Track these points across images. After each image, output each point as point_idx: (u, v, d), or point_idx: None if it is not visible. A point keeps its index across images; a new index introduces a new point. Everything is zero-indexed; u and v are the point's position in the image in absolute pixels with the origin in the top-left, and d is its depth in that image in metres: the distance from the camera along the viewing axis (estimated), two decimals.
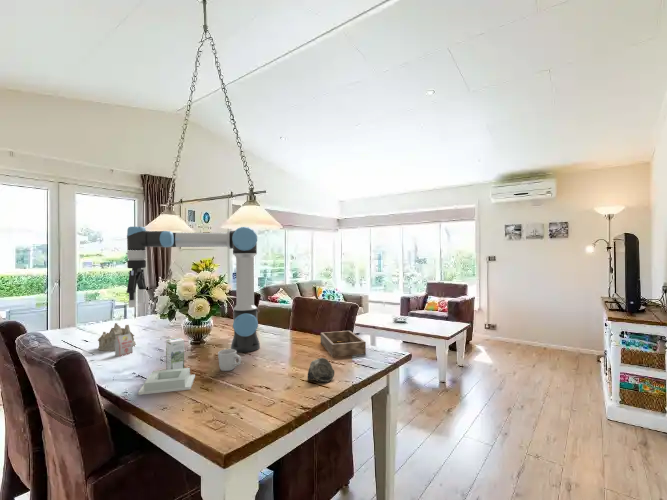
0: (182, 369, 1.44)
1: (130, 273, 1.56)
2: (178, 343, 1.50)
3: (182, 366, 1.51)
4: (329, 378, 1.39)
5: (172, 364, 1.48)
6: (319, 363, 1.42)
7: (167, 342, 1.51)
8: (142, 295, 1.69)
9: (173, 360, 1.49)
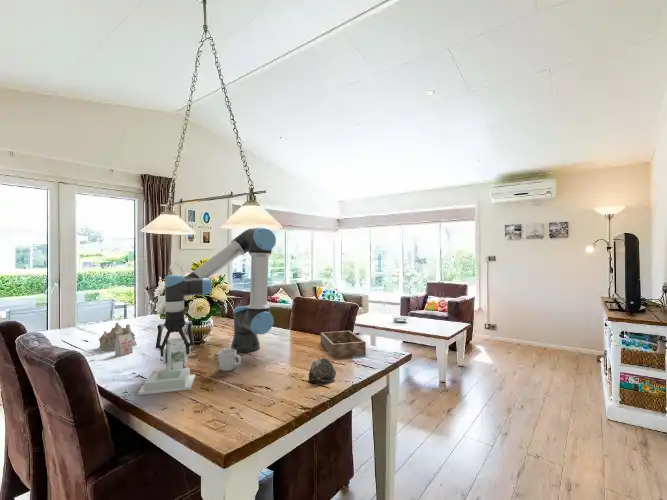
0: (182, 369, 1.44)
1: None
2: (178, 342, 1.50)
3: (182, 366, 1.51)
4: (330, 378, 1.39)
5: (172, 364, 1.48)
6: (320, 363, 1.42)
7: (167, 342, 1.51)
8: (184, 354, 1.52)
9: (173, 360, 1.49)
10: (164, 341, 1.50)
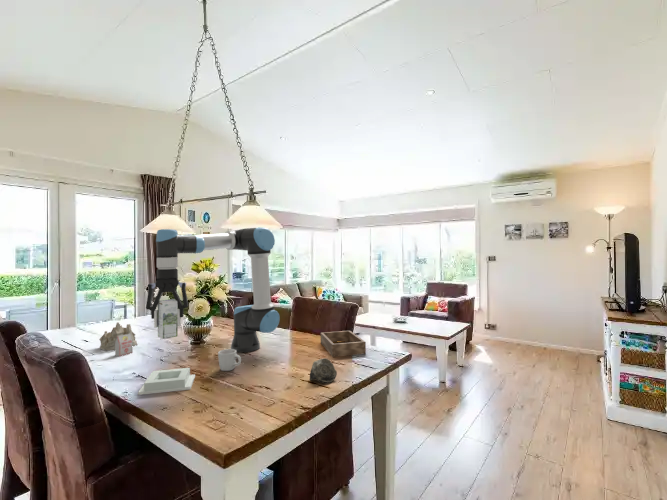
0: (182, 369, 1.44)
1: None
2: (170, 303, 1.36)
3: (175, 329, 1.37)
4: (331, 379, 1.39)
5: (164, 326, 1.34)
6: (321, 363, 1.41)
7: (159, 303, 1.36)
8: None
9: (165, 322, 1.34)
10: (155, 301, 1.35)
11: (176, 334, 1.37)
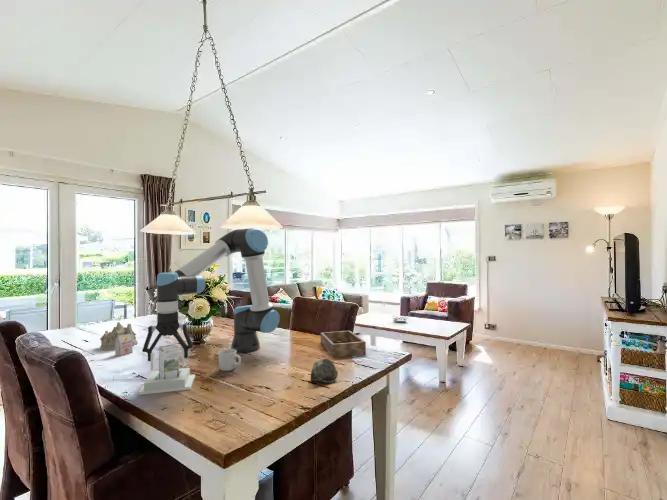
0: (182, 369, 1.44)
1: None
2: (171, 350, 1.35)
3: (176, 375, 1.37)
4: (332, 379, 1.38)
5: (165, 373, 1.34)
6: (322, 364, 1.41)
7: (160, 349, 1.36)
8: (182, 357, 1.38)
9: (166, 369, 1.34)
10: (153, 344, 1.35)
11: None
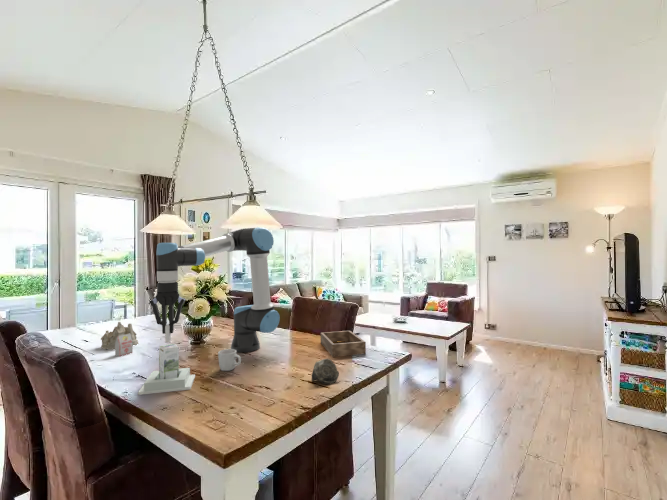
0: (182, 369, 1.44)
1: None
2: (171, 350, 1.35)
3: (176, 375, 1.37)
4: (333, 379, 1.38)
5: (165, 373, 1.34)
6: (323, 364, 1.41)
7: (160, 349, 1.36)
8: None
9: (166, 369, 1.34)
10: (163, 316, 1.36)
11: None
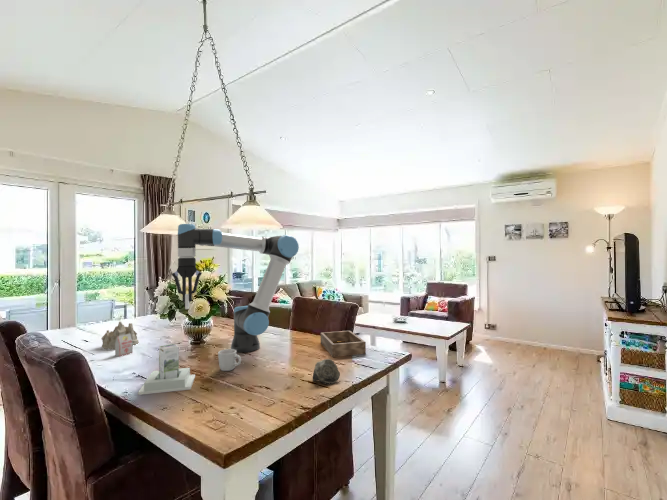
0: (182, 369, 1.44)
1: None
2: (171, 350, 1.35)
3: (176, 375, 1.37)
4: (334, 380, 1.37)
5: (165, 373, 1.34)
6: (324, 364, 1.40)
7: (160, 349, 1.36)
8: None
9: (166, 369, 1.34)
10: (183, 286, 1.59)
11: None
